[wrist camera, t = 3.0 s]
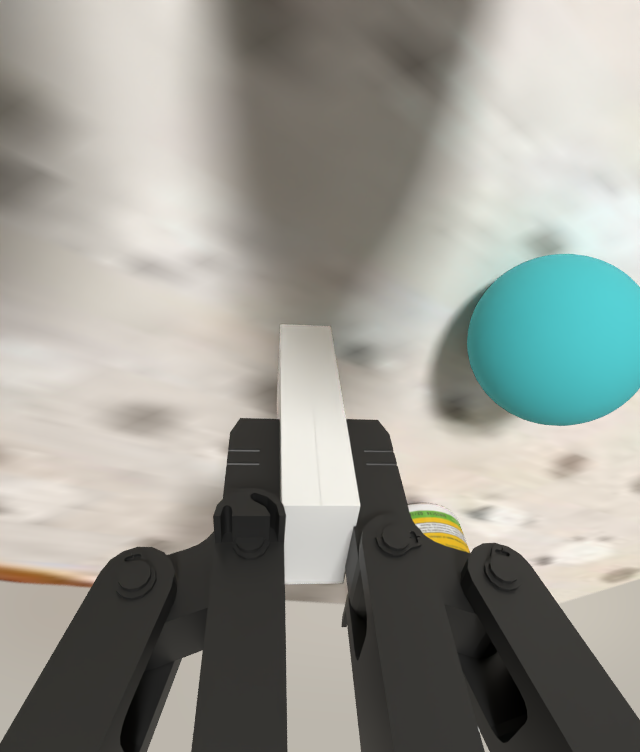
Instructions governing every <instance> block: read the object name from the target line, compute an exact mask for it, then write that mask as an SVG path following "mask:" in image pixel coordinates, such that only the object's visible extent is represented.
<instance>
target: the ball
mask: <svg viewBox="0 0 640 752" xmlns="http://www.w3.org/2000/svg"><path fill="white" fill-rule="evenodd" d="M467 349H468V356H469V361H470V365H471V368H472V370H473V373H474V375H475V377H476V379H477V381H478V383H479V384H480V385H481V387H482V388H483V390H484V391H485V393H486V394H487V395H488V396H489V397H490V398H491V399H492V400H493V401H494V402H495V403H496V404H498V405H499V406H500V407H502V408H503V409H505V410H506V411H508V412H509V413H511V414H513V415H515V416H517V417H520V418H522V419H524V420H527V421H530V422H534V423H538V424H544V425H557V426H566V425H575V424H580V423H585V422H589V421H592V420H595V419H598V418H600V417H603V416H605V415H607V414H609V413H611V412H612V411H614V410H616V409H617V408H619V407H620V406H622V405H623V404H624V403H625V402H627V401H628V400H629V399H630V398H631V397H632V396H633V395H634V394H635V393H636V392H637V391H638V389H639V388H640V287H639V286H638V285H637V284H636V283H635V282H634V281H633V280H632V279H631V278H630V277H629V276H628V275H627V274H625V273H624V272H623V271H621V270H620V269H618V268H616V267H615V266H613V265H611V264H609V263H607V262H604V261H602V260H599V259H596V258H592V257H589V256H582V255H575V254H556V255H548V256H542V257H539V258H535V259H532V260H529V261H527V262H524V263H522V264H520V265H518V266H516V267H514V268H512V269H511V270H509V271H507V272H506V273H504V274H503V275H502V276H500V277H499V278H498V279H497V280H496V281H495V282H494V283H493V284H492V285H491V286H490V287H489V288H488V289H487V290H486V292H485V293H484V294H483V296H482V297H481V299H480V300H479V302H478V304H477V305H476V307H475V309H474V312H473V314H472V317H471V320H470V324H469V328H468V336H467Z"/></svg>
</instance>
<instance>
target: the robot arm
mask: <svg viewBox="0 0 640 752" xmlns="http://www.w3.org/2000/svg"><path fill="white" fill-rule="evenodd" d="M213 519H214V532H213V533H212V534H211V535H210V536H209V537H208V538H207V539H206V540H204V541H203V542H201V543H200V544H198V545H196V546H194V547H191V548H189V549H186V550H183V551H179V552H176V553H173V554H170V555H166V554H165V553H164V552H162V551H160V550H157V549H155V548H153V547H136V548H133V549H130V550H126V551H123V552H122V553H120V554H119V555H117V556H116V557H114V558H113V559H111V560H110V561H109V562H108V563H107V565H106V566H105V567H104V568H103V569H102V571H101V572H100V574H99V575H98V577H97V579H96V580H95V582H94V584H93V586H92V587H91V589H90V591H89V592H88V594H87V596H86V597H85V599H84V601H83V603H82V604H81V606H80V608H79V610H78V611H77V613H76V615H75V616H74V618H73V620H72V621H71V623H70V625H69V627H68V628H67V630H66V632H65V633H64V635H63V637H62V639H61V640H60V642H59V644H58V645H57V647H56V649H55V651H54V653H53V654H52V656H51V657H50V660H49V661H48V663H47V664H46V666H45V668H44V669H43V671H42V673H41V675H40V676H39V678H38V680H37V681H36V683H35V685H34V687H33V688H32V690H31V692H30V693H29V695H28V697H27V699H26V700H25V702H24V704H23V705H22V707H21V709H20V711H19V712H18V714H17V716H16V718H15V719H14V721H13V723H12V724H11V726H10V728H9V729H8V731H7V733H6V734H5V736H4V738H3V740H2V741H1V743H0V752H147V750H148V747H149V744H150V742H151V739H152V736H153V734H154V731H155V728H156V726H157V723H158V720H159V718H160V715H161V712H162V710H163V707H164V705H165V702H166V699H167V697H168V694H169V691H170V689H171V686H172V683H173V681H174V678H175V675H176V673H177V670H178V667H179V665H180V662H181V659H182V658H183V657H186V656H188V655H191V654H194V653H196V652H199V651H201V650H203V654H202V663H201V672H200V681H199V689H198V698H197V707H196V716H195V725H194V733H193V742H192V751H191V752H287V703H286V702H287V699H286V633H285V584H329V583H344V578H345V574H346V578H347V586H348V595H347V599H346V604H345V608H344V612H343V617H342V627H347V626H348V635H349V644H350V653H351V662H352V671H353V681H354V690H355V699H356V708H357V716H358V726H359V735H360V743H361V744H360V745H361V752H485V751H484V748H483V745H482V741H481V737H480V733H479V730H480V732H481V734H482V736H483V738H484V740H485V743H486V745H487V746H488V749H489V751H490V752H640V720H639V718H638V717H637V716H636V714H635V713H634V711H633V710H632V708H631V707H630V706H629V704H628V703H627V701H626V700H625V698H624V697H623V696H622V694H621V693H620V691H619V690H618V688H617V687H616V686H615V684H614V683H613V681H612V680H611V679H610V677H609V676H608V674H607V673H606V672H605V670H604V669H603V667H602V666H601V664H600V663H599V662H598V660H597V659H596V657H595V656H594V654H593V653H592V652H591V650H590V649H589V647H588V646H587V645H586V643H585V642H584V640H583V639H582V638H581V636H580V635H579V633H578V632H577V630H576V629H575V628H574V626H573V625H572V623H571V622H570V620H569V619H568V618H567V616H566V615H565V613H564V612H563V610H562V609H561V608H560V606H559V605H558V603H557V602H556V601H555V599H554V598H553V596H552V595H551V593H550V592H549V591H548V589H547V588H546V586H545V585H544V583H543V582H542V581H541V579H540V578H539V576H538V575H537V574H536V572H535V571H534V569H533V568H532V566H531V565H530V564H529V563H528V562H527V561H526V560H525V559H524V558H523V557H522V555H521V554H519V553H517V552H516V551H514V550H513V549H511V548H509V547H507V546H504V545H500V544H497V543H484V544H481V545H479V546H477V547H475V548H474V549H473V550H472V552H471V553H468V552H465V551H462V550H458V549H455V548H451V547H448V546H445V545H442V544H440V543H437V542H435V541H433V540H432V539H430V538H428V537H427V536H425V535H424V534H423V533H422V531H421V530H420V529H419V528H418V527H417V526H416V525H415V523H414V522H413V520H412V518H411V515H410V512H409V508H408V505H407V501H406V497H405V493H404V489H403V485H402V481H401V478H400V474H399V470H398V466H397V462H396V458H395V455H394V453H393V447H392V443H391V439H390V435H389V433H388V432H387V431H386V430H385V428H384V427H383V426H382V425H381V423H380V422H379V421H378V420H357V419H346V416H345V410H344V404H343V398H342V392H341V385H340V379H339V373H338V367H337V361H336V355H335V349H334V343H333V337H332V331H331V326H315V325H291V324H280V341H279V362H278V383H277V419H251V418H240V419H239V421H238V422H237V424H236V425H235V426H234V428H233V429H232V431H231V432H230V440H229V449H228V458H227V467H226V476H225V485H224V494H223V499H222V500H221V502H220V503H219V504H218V505H217V507H216V510H215V513H214V516H213ZM478 728H479V729H478Z"/></svg>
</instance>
